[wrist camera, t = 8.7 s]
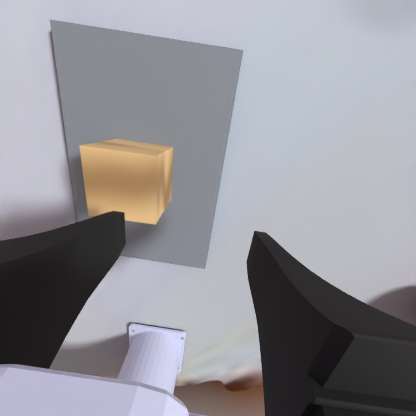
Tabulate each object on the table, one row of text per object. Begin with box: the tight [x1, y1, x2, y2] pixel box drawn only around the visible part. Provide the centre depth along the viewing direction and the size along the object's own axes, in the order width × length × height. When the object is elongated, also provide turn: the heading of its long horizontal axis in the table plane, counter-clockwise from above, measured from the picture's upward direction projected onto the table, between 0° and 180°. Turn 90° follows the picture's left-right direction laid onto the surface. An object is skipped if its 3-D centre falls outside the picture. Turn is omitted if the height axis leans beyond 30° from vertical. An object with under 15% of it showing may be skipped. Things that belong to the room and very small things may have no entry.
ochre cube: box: [79, 139, 174, 224], centre depth 16 cm, size 5×5×5 cm
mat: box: [50, 20, 243, 269], centre depth 19 cm, size 20×14×1 cm
